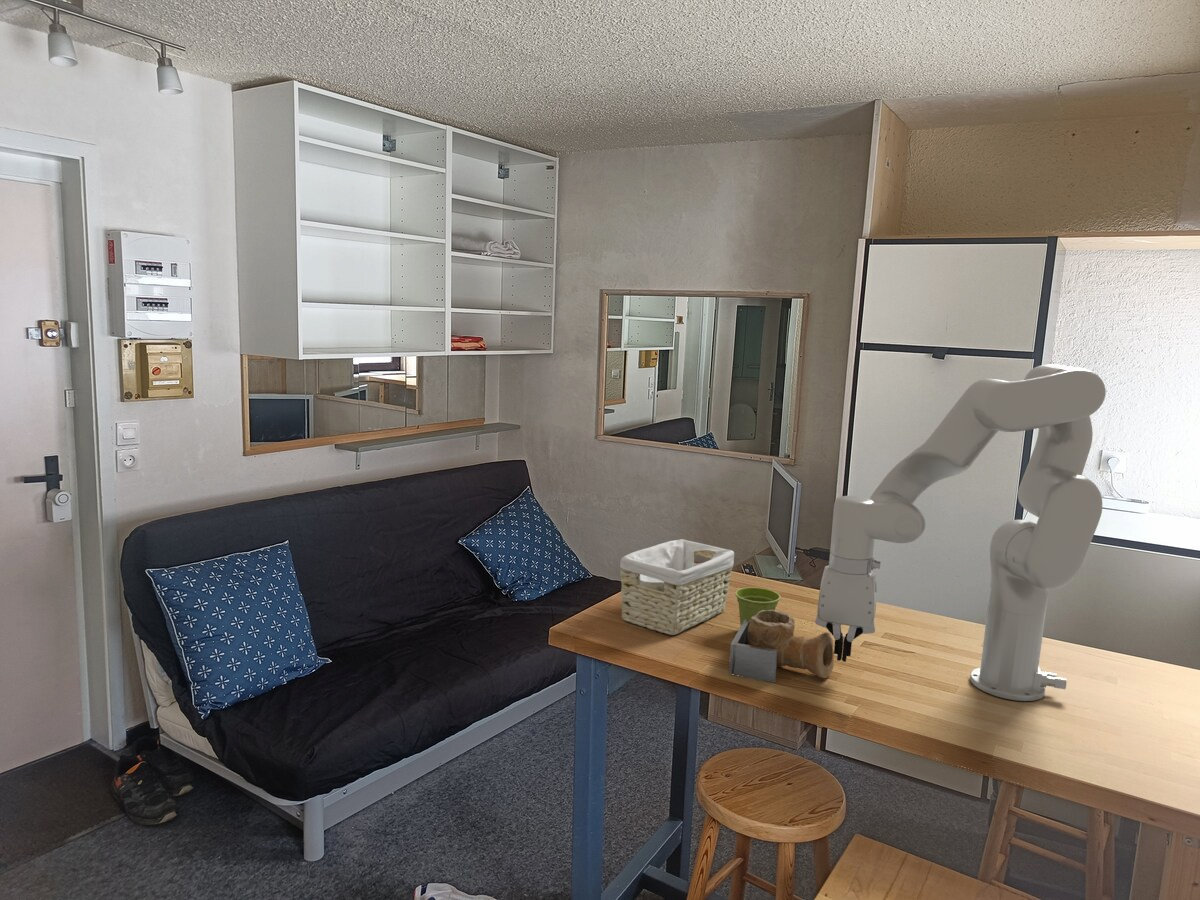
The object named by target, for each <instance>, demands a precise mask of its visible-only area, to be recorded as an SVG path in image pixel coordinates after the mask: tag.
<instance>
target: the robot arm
mask: <svg viewBox="0 0 1200 900" xmlns="http://www.w3.org/2000/svg"><path fill="white" fill-rule="evenodd" d="M1106 393H1107V391H1106V385H1105V383H1104V381H1103V379H1102V378H1101V376H1099V375H1098V374H1097V373H1095V372H1094V371H1092V370H1090V369H1087V368H1082V367H1075V366H1067V365H1061V364H1042V365H1038V366H1036V367H1033V368H1032V369H1030V370H1029V371H1028V372H1027V374H1026V375H1025V376H1024V379H1023V380H1016V381H1015V380H1014V381H1008V380H1003V379H995V378H983V379H979V380H977V381H974V382H973V383H972V384H971V385H969V387H968V388H967V389H966V390H965V391H964V392H963V393H962V395H961V396H960V397H959V399H958V400H957V401H956V402H955V404H954V405H953V406H952V408H951V409H950V410H949V412H948V413H947V414H946V415H945V417H944V418H943V419H942V421H941V422H940V423H939V424H938V426H937V427H936V428H935V429H934V431H933V432H932V433H931V434H930V435H929V437H928V438H927V439H926V440H925V442H923V444H921V445H919V446H918V447H917V448H915V449H914V450H913V451H912V452H911V453H909V454H908V455H907V456H906V457H904V458H903V459H902V460H900V461H899V462H898V463H897V464H896V465H895V466H893V468H892V469H890V471H889V472H888V473H887V475H886V476H885V477H884V478H883V479H882V480H881V482H880V483H879V485H878V486H877V487H876V488H875V490H874V491H873V493H872V494H871V495H870V497H865V496H860V495H843V496H839V497H838V498H836V499H835V502H834V504H833V511H832V512H833V513H832V526H831V534H830V536H831V538H830V547H829V560H828V565H825V566H824V569H823V573H822V576H821V582H820V587H819V592H818V593H819V594H818V602H817V613H816V614H817V615H816V617H815V621H814V623H815V625H817V626H820V627H821V628H826V630H828V633H829V634H831V636H833V638H834V645H833V650H834V655H837V657H836V661H838V662H840V661H842V662H845V663H846V662H847V657H851V654H852V646H853V645H852V644H853V641H854V640H855V639H857V638H858V637H859V636H861V635H862V634H863V635H867V634H874V633H876V625H875V618H876V609H877V576H876V572H874V570H875V569H881V561H880V560H877V559H875V558H873V557H874V556H873V555H874V546H875V540H879V541H884V542H889V543H894V544H909V543H913V542H914V541H915V542H916V541H917V540H918V539H919V538H920V537H921V536H922V535H923V533H924V532H925V529H926V519H925V517H924V514H923V513H922V511H921V510H920V509H919V508H918V507H917V506H916V505H915V504H914V503H915V502H916V501H917V499H918V498H919V497H920V496H921V495H922V494H923V493H924V492H925V491H926V490H927V489H929V488H930V487H931V486H933V485H934V484H936V483H937V482H939V481H942V480H944V479H947V478H951V477H954V476H957V475H960V474H962V473H964V472H965V471H967V470H968V469H969V468H970V467H971V466H972V465H973V463H974V462H975V461H976V459H977V458H979V456H980V454H981V453H982V452H983V450H984V449H985V448H986V447H987V446H988V444H989V443H990V441H991V440H993V438H994V437H995V435H996V434H997V433H998V432H1003V433H1016V432H1024V431H1032V430H1037V429H1038V431H1037V433H1038V434H1037V437H1036V442H1035V444H1034V449H1033V450H1032V453H1031V454H1030V455H1031V456H1030V458H1029V461H1028V464H1027V465H1026V469H1025V472H1024V474H1023V475H1022V479H1021V482H1020V484H1019V487H1018V491H1017V498H1018V499H1017V500H1018V503H1019V504H1020V506H1021V507H1022V508H1023V509H1024V510H1025V511H1026V512H1028V513H1030V514H1032V515H1033V516H1035V517H1037V522H1036V523H1035V522H1032V521H1030V520H1025V519H1012V520H1009V521H1006V522H1004V523H1002V524H1001V525H1000V526H999V527H997V529H996V530H995V531H994V532H993V535H992V537H991V540H990V547H989V561H990V562H989V563H990V583H989V584H990V585H989V586H990V587H989V595H988V602H987V611H986V617H985V618H986V619H985V626H984V627H985V628H984V637H983V642H982V643H983V644H982V653H981V659H980V660H981V662H980V667H977V668H974V669H972V670H971V671H970V674H969V675H970V676H969V679H970V682H971V683H972V684H973V686H974V687H976V688H977V689H979V690H980V691H981V692H985V693H987V694H989V695H991V696H994V697H998V698H1001V699H1004V700H1005V699H1006V700H1012V701H1019V702H1031V701H1033V702H1034V701H1037V700H1041V699H1042V698H1043V697H1044V696H1045V694H1046V688H1047V687H1051V688H1054V689H1061V690H1066V688H1067V679H1066V678H1063V677H1057V673H1054V672H1046V671H1043V670H1042V669H1041V668H1040V658H1041V651H1042V643H1043V635H1044V628H1045V621H1046V615H1047V614H1046V613H1047V605H1048V590H1049V591H1050V590H1057V589H1058V590H1059V589H1060V588H1063V587H1066V585H1068V584H1070V582H1072V580H1073V579H1074V578H1075V577H1076V575H1077V574H1078V572H1079V571H1080V569H1081V566H1082V564H1083V562H1084V560H1085V557H1086V555H1087V553H1088V550H1089V548H1090V546H1091V542H1092V540H1093V538H1094V535H1095V533H1096V531H1097V527H1098V525H1099V523H1100V520H1101V517H1102V513H1103V497H1102V494H1101V491H1100V489H1099V487H1098V486H1097V485H1096V484H1095V483H1094V482H1093V481H1092V480H1090V479H1089V478H1088V477H1086V476H1084V475H1083V473H1084V469H1085V467H1086V463H1087V460H1088V457H1089V454H1090V452H1091V448H1092V445H1093V444H1092V443H1093V424H1092V420H1091V417H1090V416H1091V415H1093V414H1094V413H1096V412H1097V411H1099V409H1100V408H1101V406H1102V405H1103V403H1104V401H1105V398H1106ZM843 625H844V626H849V627H848V630H847V633H846V634H845V636H844V635H843V632H842V626H843Z"/></svg>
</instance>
